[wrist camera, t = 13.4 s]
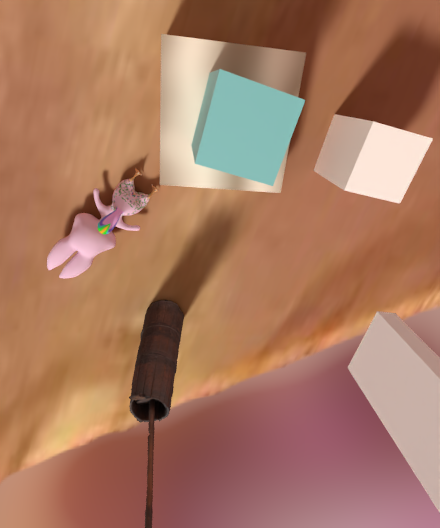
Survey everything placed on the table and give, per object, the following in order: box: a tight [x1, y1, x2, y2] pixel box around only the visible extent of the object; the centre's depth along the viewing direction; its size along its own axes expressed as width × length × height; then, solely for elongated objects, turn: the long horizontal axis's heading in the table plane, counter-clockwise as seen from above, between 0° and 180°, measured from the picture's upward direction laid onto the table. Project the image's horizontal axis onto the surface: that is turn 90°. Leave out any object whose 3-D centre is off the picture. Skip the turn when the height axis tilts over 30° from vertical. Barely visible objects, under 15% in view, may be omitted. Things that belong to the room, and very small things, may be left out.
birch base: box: [160, 34, 306, 193], centre depth 32 cm, size 12×12×5 cm
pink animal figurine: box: [47, 168, 158, 278], centre depth 35 cm, size 6×6×15 cm
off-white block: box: [314, 114, 433, 203], centre depth 33 cm, size 6×6×8 cm
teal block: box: [191, 69, 305, 186], centre depth 26 cm, size 6×6×8 cm
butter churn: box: [129, 300, 184, 528], centre depth 32 cm, size 9×10×28 cm
